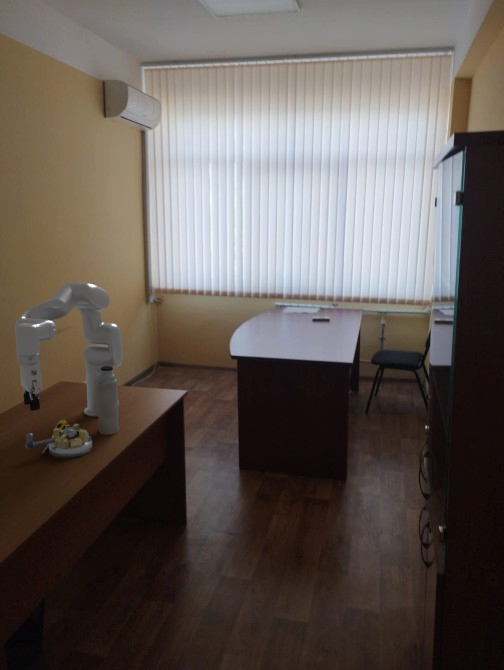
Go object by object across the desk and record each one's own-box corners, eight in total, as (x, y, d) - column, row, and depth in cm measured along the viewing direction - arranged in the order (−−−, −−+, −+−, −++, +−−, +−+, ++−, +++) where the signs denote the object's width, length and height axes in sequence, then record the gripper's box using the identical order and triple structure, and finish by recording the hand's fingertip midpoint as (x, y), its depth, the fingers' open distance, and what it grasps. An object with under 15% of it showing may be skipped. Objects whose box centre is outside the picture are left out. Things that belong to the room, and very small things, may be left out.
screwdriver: (59, 419, 229) (36, 450, 200) (67, 419, 229) (45, 450, 200) (60, 426, 230) (37, 458, 201) (68, 426, 230) (46, 458, 201)
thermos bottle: (106, 426, 231) (104, 363, 225) (122, 428, 229) (120, 365, 222) (95, 432, 224) (92, 368, 217) (111, 436, 221) (109, 370, 215)
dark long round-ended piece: (80, 431, 217) (79, 416, 215) (93, 442, 207) (92, 427, 205) (21, 445, 203) (20, 429, 201) (31, 457, 193) (30, 441, 192)
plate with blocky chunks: (81, 435, 221) (80, 416, 219) (98, 451, 207) (98, 431, 205) (41, 444, 211) (40, 425, 210) (57, 461, 198) (56, 441, 196)
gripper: (47, 362, 184) (50, 412, 188) (32, 351, 197) (35, 398, 201) (24, 366, 179) (28, 416, 183) (10, 354, 192) (14, 401, 196)
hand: (31, 406), depth 192 cm, fingers open, 6 cm apart
